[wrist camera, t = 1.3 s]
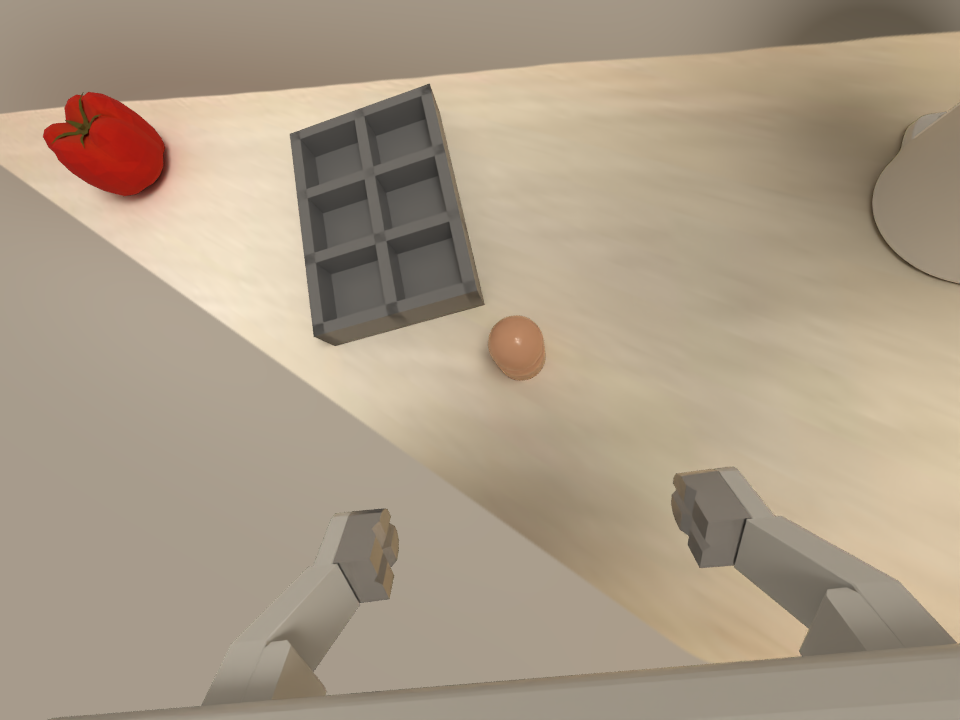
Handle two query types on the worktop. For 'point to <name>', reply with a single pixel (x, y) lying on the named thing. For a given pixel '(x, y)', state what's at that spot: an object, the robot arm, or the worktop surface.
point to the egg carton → (382, 220)
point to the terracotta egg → (517, 347)
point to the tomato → (107, 144)
